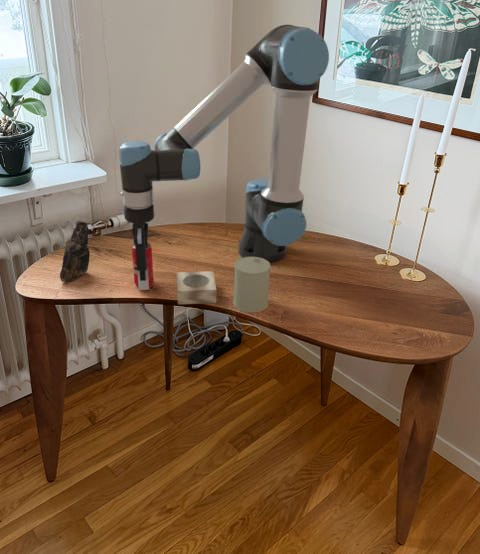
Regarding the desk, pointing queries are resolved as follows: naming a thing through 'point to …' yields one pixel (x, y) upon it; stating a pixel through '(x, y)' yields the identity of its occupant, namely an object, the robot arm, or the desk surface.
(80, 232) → the statue
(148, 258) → the beverage can
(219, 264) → the desk surface
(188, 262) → the desk surface
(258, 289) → the can
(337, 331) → the desk surface
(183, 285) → the base
